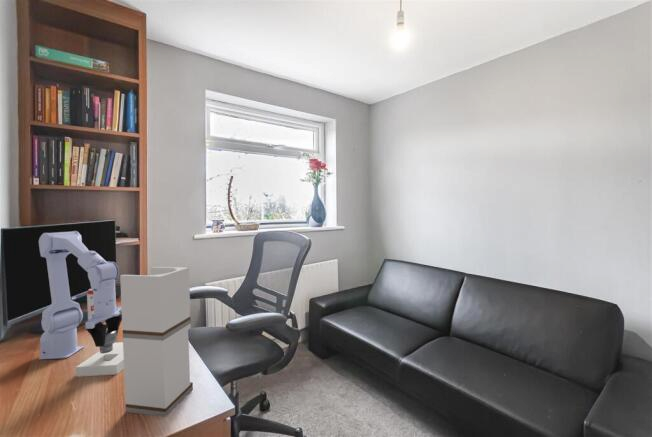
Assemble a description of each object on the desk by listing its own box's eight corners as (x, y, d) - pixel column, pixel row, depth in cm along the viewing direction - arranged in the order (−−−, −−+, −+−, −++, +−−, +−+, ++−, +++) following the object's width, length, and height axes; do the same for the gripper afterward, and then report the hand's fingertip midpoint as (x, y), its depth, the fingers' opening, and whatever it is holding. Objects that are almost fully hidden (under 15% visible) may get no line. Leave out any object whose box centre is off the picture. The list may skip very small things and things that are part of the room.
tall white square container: (192, 389, 81) (188, 267, 79) (165, 416, 70) (160, 276, 69) (157, 385, 83) (153, 266, 81) (125, 411, 72) (120, 275, 71)
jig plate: (76, 376, 88) (75, 367, 88) (111, 350, 104) (110, 342, 104) (117, 374, 89) (116, 364, 89) (145, 349, 105) (145, 341, 105)
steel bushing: (91, 355, 90) (90, 337, 90) (103, 347, 96) (102, 329, 95) (109, 354, 91) (109, 336, 90) (120, 346, 96) (120, 328, 96)
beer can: (108, 322, 131) (106, 288, 130) (91, 327, 125) (89, 291, 125) (102, 319, 134) (101, 286, 134) (85, 324, 129) (84, 289, 128)
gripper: (102, 307, 86) (104, 351, 86) (131, 293, 100) (132, 331, 101) (77, 308, 85) (79, 353, 86) (110, 294, 100) (111, 332, 100)
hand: (106, 341), depth 93 cm, fingers closed on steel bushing, 6 cm apart
